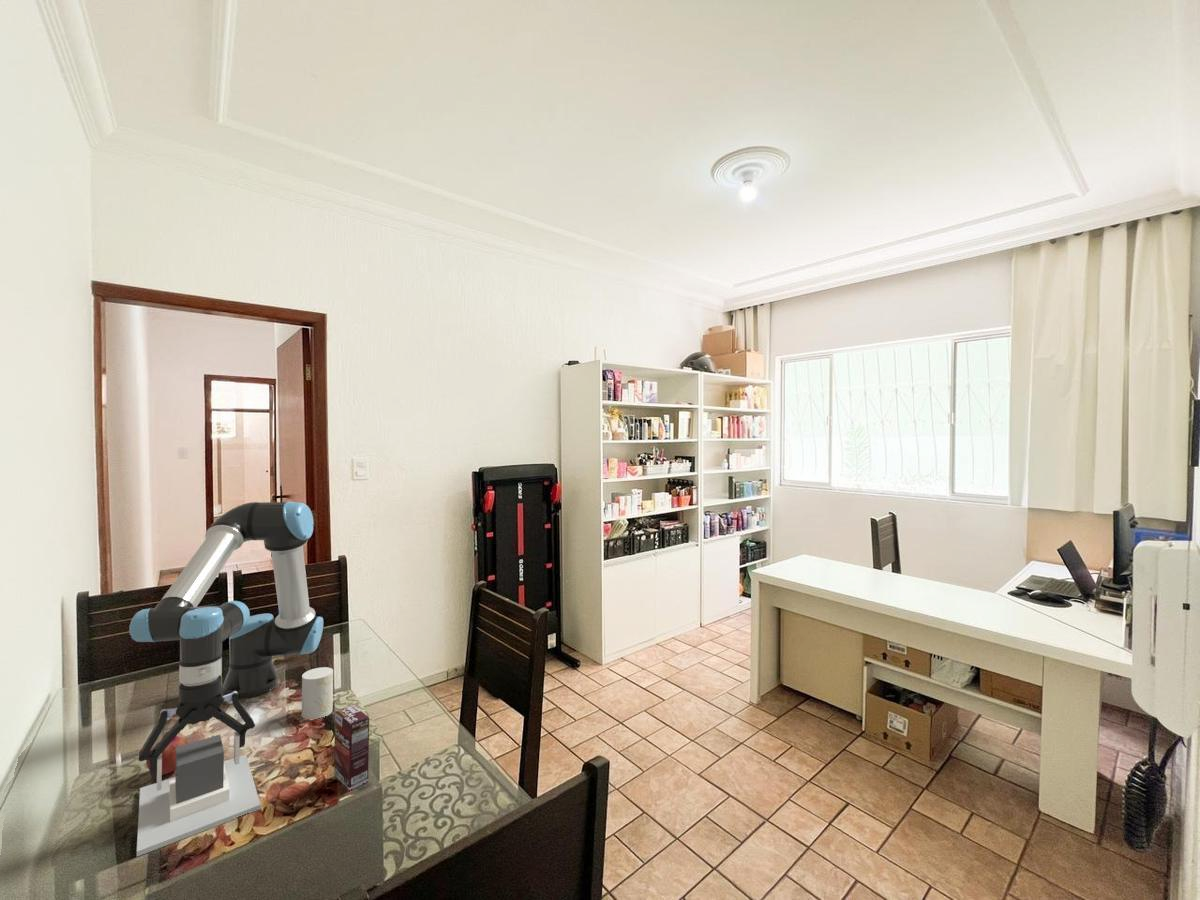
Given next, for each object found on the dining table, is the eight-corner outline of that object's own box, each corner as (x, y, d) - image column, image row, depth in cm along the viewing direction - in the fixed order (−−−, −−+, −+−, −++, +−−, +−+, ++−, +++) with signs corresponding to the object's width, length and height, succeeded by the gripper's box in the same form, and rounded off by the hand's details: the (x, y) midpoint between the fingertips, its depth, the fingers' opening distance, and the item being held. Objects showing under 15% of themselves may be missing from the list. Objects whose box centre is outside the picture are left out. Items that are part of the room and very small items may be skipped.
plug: (175, 792, 113) (176, 747, 113) (219, 777, 119) (220, 734, 119) (176, 814, 107) (177, 766, 107) (223, 797, 112) (223, 751, 112)
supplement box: (332, 776, 121) (333, 711, 122) (353, 767, 125) (354, 703, 125) (348, 792, 116) (349, 723, 116) (369, 782, 120) (370, 715, 120)
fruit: (139, 787, 117) (140, 744, 117) (154, 767, 124) (154, 726, 124) (183, 778, 120) (183, 736, 120) (194, 759, 127) (195, 720, 127)
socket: (140, 792, 115) (140, 777, 115) (246, 758, 128) (246, 744, 128) (136, 856, 97) (136, 838, 97) (260, 809, 110) (260, 793, 110)
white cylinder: (318, 721, 146) (319, 680, 146) (294, 718, 147) (295, 677, 147) (338, 707, 154) (339, 668, 154) (315, 704, 155) (316, 666, 155)
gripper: (123, 703, 102) (121, 808, 102) (269, 669, 118) (267, 759, 118) (125, 690, 107) (123, 789, 107) (264, 659, 124) (262, 745, 124)
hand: (199, 773), depth 113 cm, fingers open, 13 cm apart
